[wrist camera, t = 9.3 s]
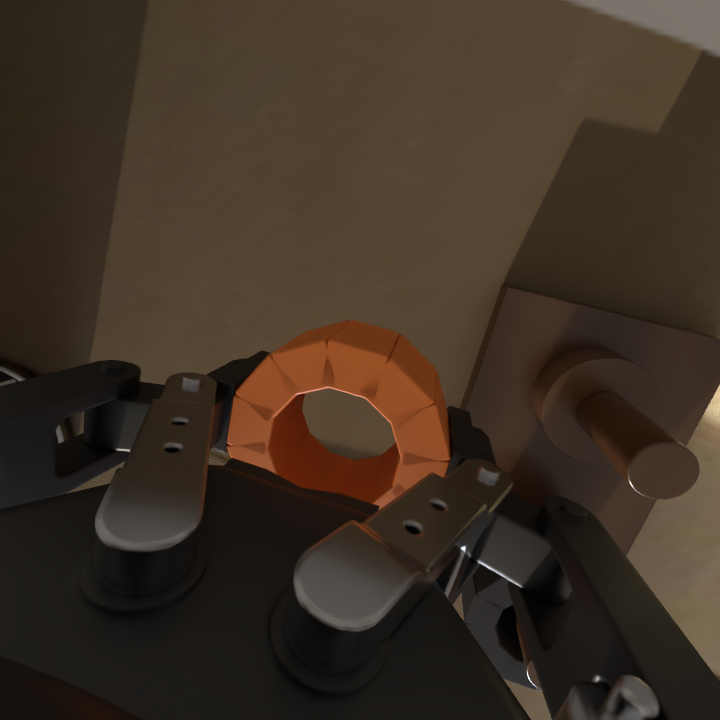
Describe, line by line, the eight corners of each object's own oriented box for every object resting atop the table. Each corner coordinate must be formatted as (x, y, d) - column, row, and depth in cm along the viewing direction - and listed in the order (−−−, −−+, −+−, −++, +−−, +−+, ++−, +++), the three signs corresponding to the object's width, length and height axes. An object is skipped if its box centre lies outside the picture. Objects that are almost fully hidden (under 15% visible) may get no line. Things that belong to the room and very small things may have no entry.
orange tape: (256, 459, 15) (214, 508, 12) (285, 301, 13) (244, 314, 10) (416, 511, 14) (411, 576, 12) (470, 352, 13) (479, 381, 10)
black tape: (446, 603, 21) (448, 659, 18) (484, 505, 19) (493, 551, 16) (567, 644, 20) (589, 709, 17) (619, 547, 18) (653, 602, 15)
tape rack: (409, 555, 25) (398, 699, 17) (502, 283, 20) (548, 305, 12) (574, 609, 24) (645, 790, 16) (716, 337, 18) (926, 401, 11)
